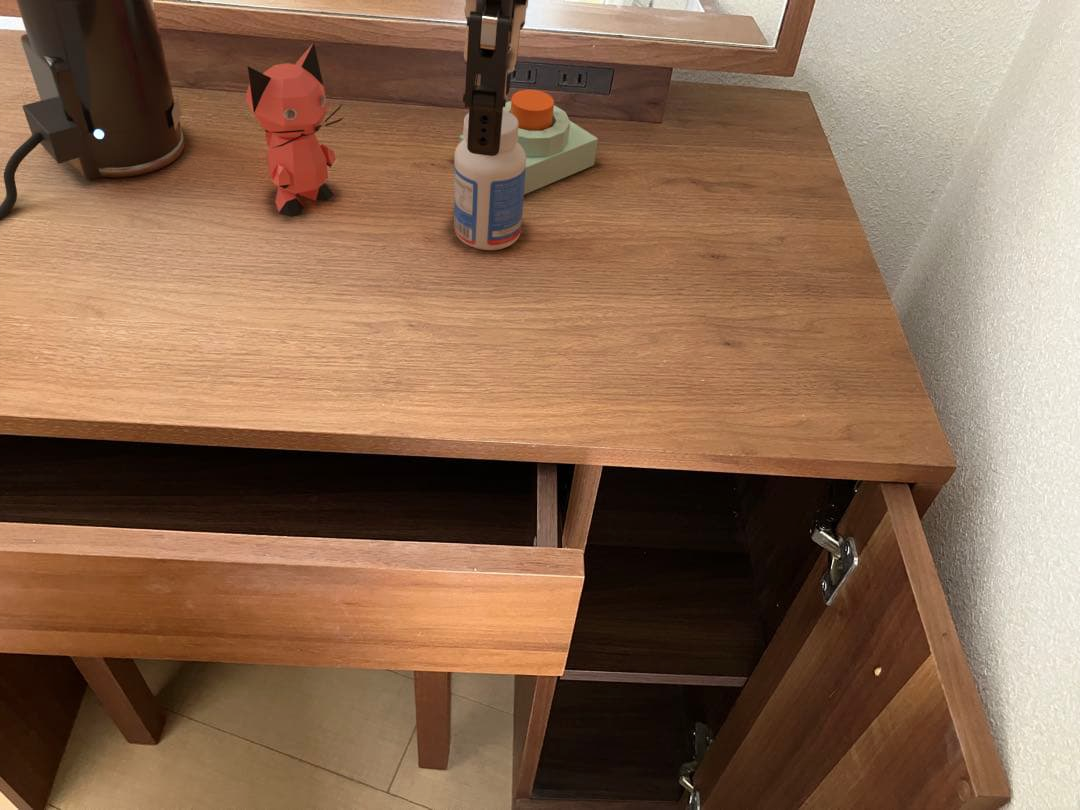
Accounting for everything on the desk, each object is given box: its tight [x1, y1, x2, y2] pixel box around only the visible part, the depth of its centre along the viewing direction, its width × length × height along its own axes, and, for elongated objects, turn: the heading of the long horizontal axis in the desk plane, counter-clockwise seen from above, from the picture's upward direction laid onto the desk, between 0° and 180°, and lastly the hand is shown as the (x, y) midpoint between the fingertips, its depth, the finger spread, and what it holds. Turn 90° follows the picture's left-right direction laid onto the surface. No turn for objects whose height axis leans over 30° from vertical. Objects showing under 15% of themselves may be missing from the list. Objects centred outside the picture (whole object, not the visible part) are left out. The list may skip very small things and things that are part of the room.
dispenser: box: [458, 100, 599, 195], centre depth 78 cm, size 10×7×4 cm
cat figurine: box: [244, 42, 345, 217], centre depth 69 cm, size 7×7×12 cm
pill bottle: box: [453, 110, 526, 251], centre depth 69 cm, size 6×5×10 cm
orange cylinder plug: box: [510, 89, 555, 131], centre depth 76 cm, size 4×4×2 cm
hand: (489, 121), depth 65 cm, fingers open, 8 cm apart
